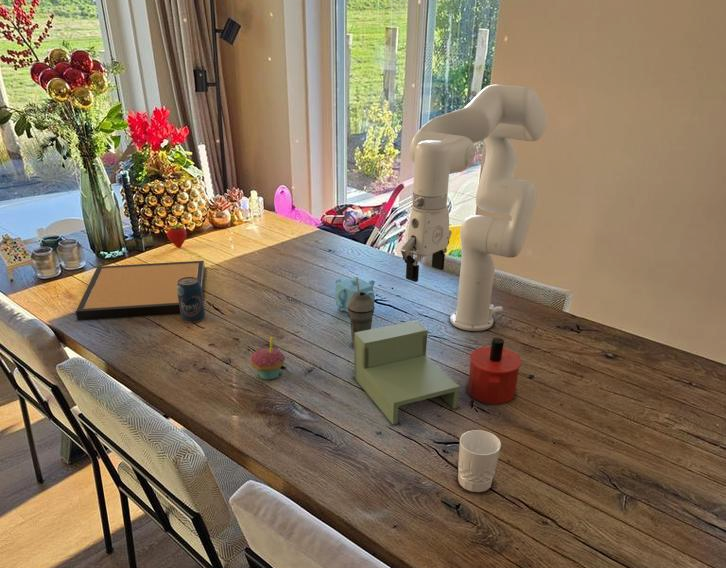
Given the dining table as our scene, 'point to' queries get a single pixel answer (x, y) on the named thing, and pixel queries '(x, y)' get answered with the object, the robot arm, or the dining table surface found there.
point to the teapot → (351, 291)
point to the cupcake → (267, 361)
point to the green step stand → (399, 368)
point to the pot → (491, 386)
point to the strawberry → (177, 235)
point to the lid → (495, 358)
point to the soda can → (190, 299)
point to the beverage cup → (360, 311)
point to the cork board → (136, 289)
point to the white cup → (477, 460)
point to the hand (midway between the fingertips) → (425, 274)
